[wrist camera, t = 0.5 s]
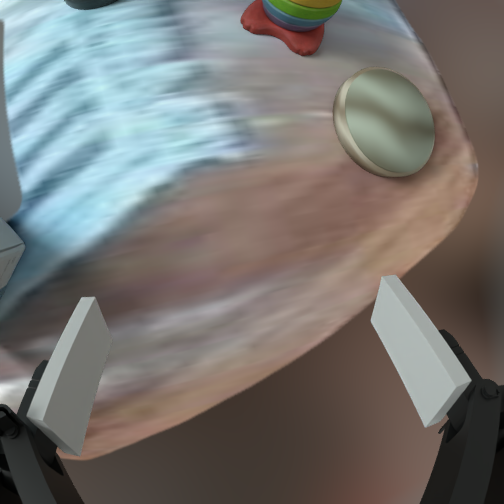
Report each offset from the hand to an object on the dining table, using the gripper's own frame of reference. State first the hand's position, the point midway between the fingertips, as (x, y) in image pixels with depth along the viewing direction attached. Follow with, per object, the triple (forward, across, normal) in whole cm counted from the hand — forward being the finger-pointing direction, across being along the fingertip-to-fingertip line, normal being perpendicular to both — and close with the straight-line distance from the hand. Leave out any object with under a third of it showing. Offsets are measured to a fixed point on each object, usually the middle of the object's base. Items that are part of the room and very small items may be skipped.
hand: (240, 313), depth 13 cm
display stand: (+27, +21, +6) cm, 35 cm away
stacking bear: (+31, +9, +21) cm, 38 cm away
